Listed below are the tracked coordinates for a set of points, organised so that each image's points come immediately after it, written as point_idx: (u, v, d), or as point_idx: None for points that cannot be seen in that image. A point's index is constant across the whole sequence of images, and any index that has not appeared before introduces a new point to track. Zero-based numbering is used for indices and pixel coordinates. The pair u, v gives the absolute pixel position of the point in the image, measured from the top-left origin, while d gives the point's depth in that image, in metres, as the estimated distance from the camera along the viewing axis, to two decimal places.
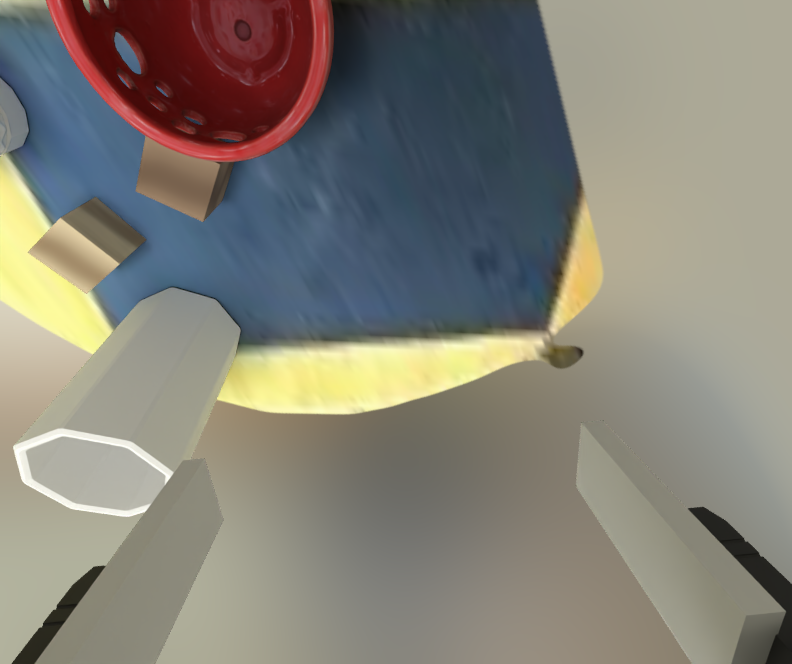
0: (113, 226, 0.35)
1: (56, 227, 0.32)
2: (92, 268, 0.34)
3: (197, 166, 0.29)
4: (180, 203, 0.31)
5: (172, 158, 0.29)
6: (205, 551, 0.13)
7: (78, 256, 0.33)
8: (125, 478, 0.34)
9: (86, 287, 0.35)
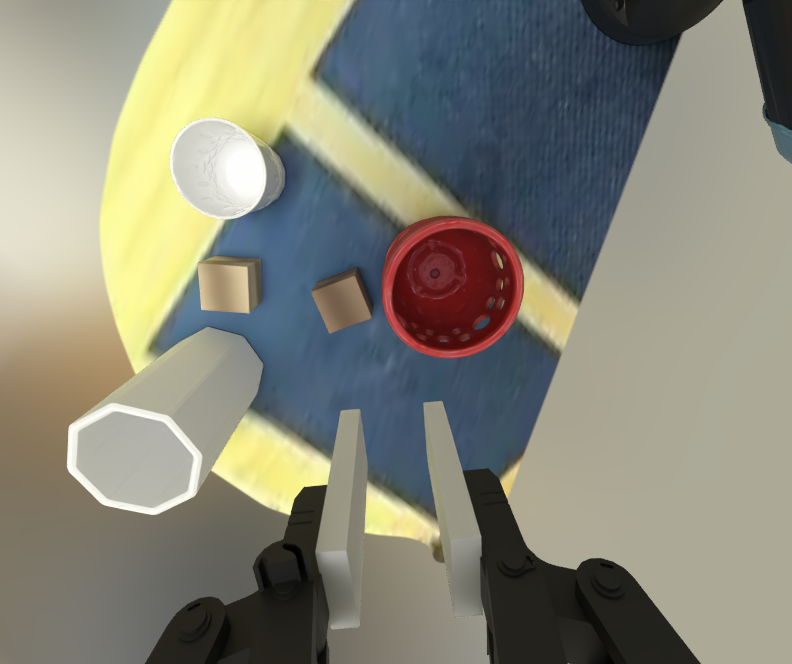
0: (257, 284, 0.45)
1: (237, 268, 0.41)
2: (228, 301, 0.42)
3: (359, 309, 0.43)
4: (328, 316, 0.43)
5: (350, 296, 0.42)
6: (365, 486, 0.15)
7: (228, 289, 0.42)
8: (116, 467, 0.36)
9: (207, 306, 0.42)
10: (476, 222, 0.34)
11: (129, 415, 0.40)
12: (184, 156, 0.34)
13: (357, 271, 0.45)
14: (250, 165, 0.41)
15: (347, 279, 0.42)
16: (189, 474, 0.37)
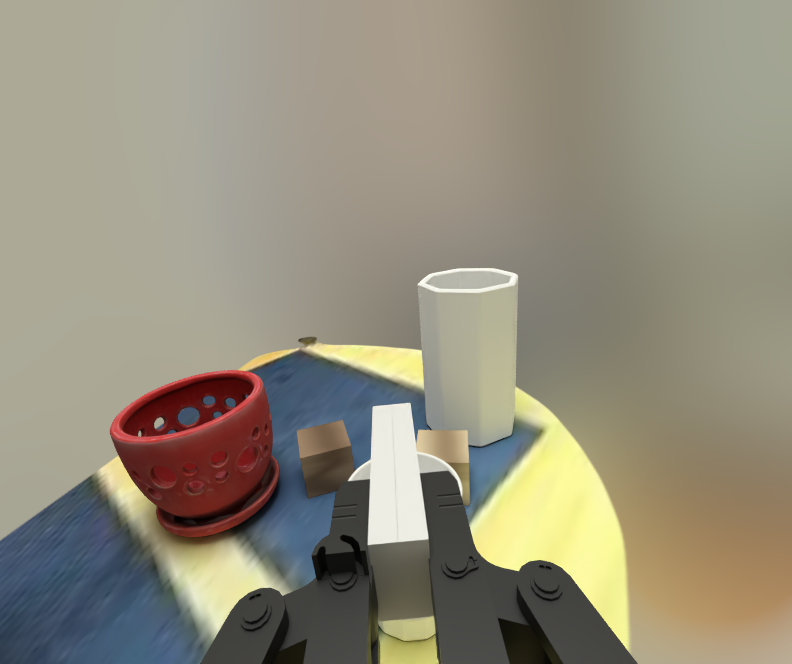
0: None
1: None
2: (439, 436, 0.40)
3: (306, 435, 0.42)
4: (339, 430, 0.42)
5: (311, 444, 0.40)
6: None
7: (437, 444, 0.39)
8: None
9: (461, 432, 0.40)
10: (130, 441, 0.31)
11: None
12: None
13: None
14: None
15: (309, 455, 0.39)
16: None
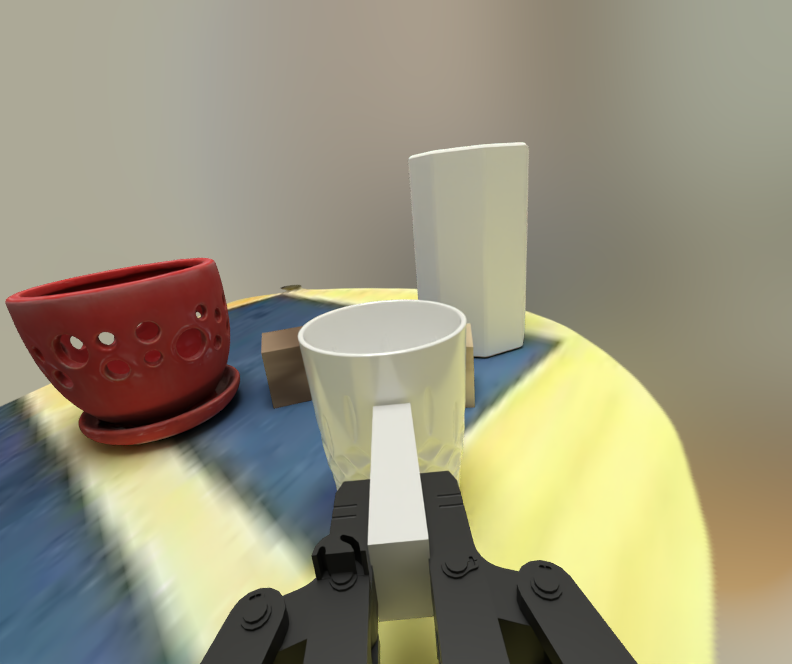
0: None
1: None
2: None
3: (272, 336, 0.34)
4: None
5: (277, 342, 0.33)
6: None
7: None
8: None
9: None
10: (24, 301, 0.24)
11: None
12: None
13: (270, 391, 0.32)
14: None
15: (272, 350, 0.31)
16: None
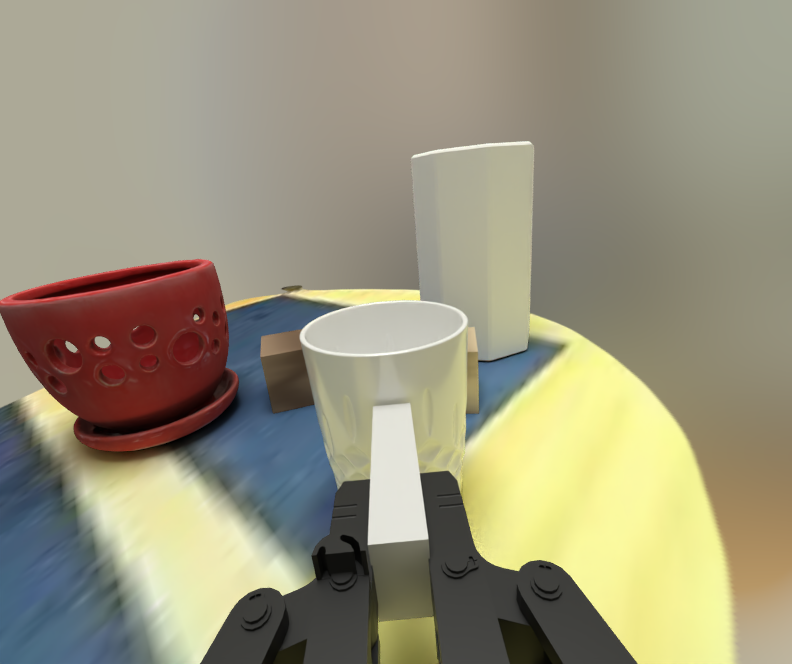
0: None
1: None
2: None
3: (272, 339, 0.33)
4: None
5: (276, 345, 0.32)
6: None
7: None
8: None
9: None
10: (15, 304, 0.23)
11: None
12: None
13: (269, 396, 0.31)
14: None
15: (272, 354, 0.30)
16: None
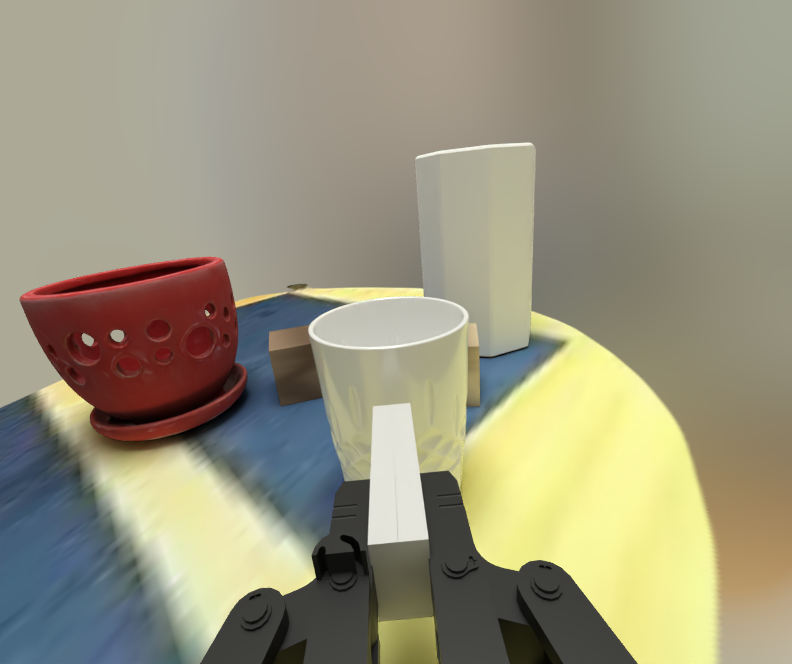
0: None
1: None
2: None
3: (280, 334, 0.34)
4: None
5: (284, 340, 0.33)
6: None
7: None
8: None
9: None
10: (38, 298, 0.24)
11: None
12: None
13: (277, 389, 0.32)
14: None
15: (280, 348, 0.31)
16: None
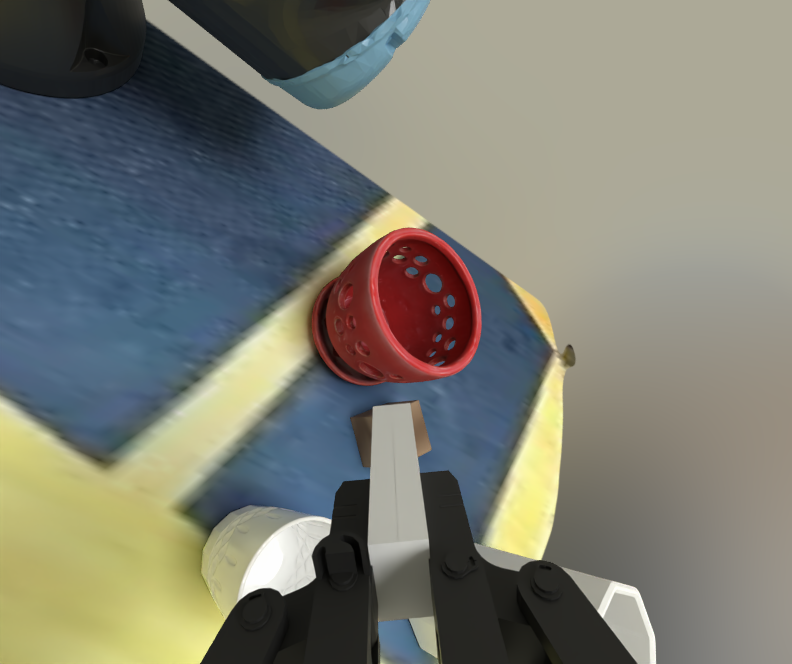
0: None
1: None
2: None
3: None
4: None
5: None
6: None
7: None
8: None
9: None
10: (372, 262, 0.30)
11: None
12: None
13: (360, 416, 0.39)
14: None
15: None
16: None
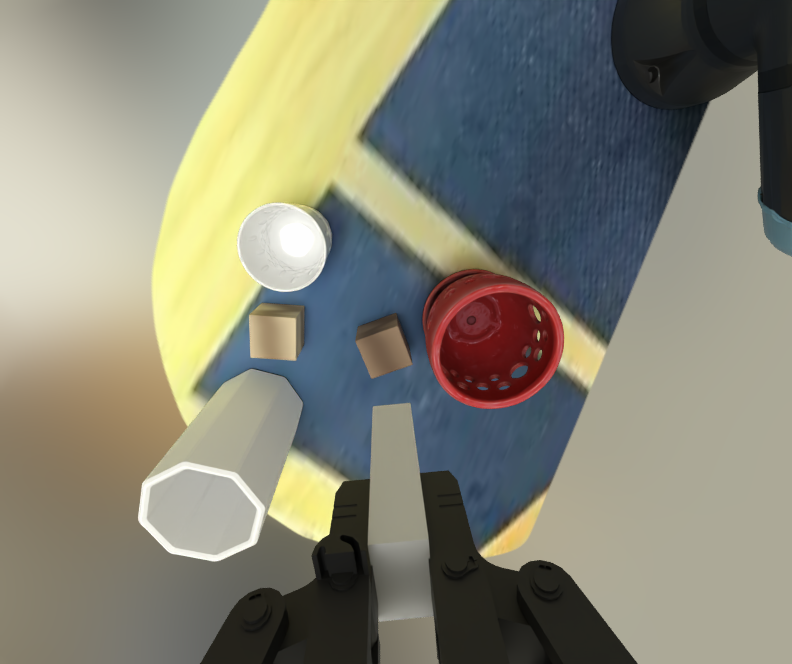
0: (301, 330, 0.47)
1: (286, 319, 0.43)
2: (276, 350, 0.44)
3: (400, 357, 0.45)
4: (371, 363, 0.45)
5: (393, 344, 0.44)
6: None
7: (276, 339, 0.44)
8: (178, 514, 0.38)
9: (256, 354, 0.44)
10: (521, 286, 0.36)
11: None
12: (248, 232, 0.37)
13: (397, 318, 0.47)
14: (301, 230, 0.43)
15: (390, 329, 0.44)
16: (246, 520, 0.39)
